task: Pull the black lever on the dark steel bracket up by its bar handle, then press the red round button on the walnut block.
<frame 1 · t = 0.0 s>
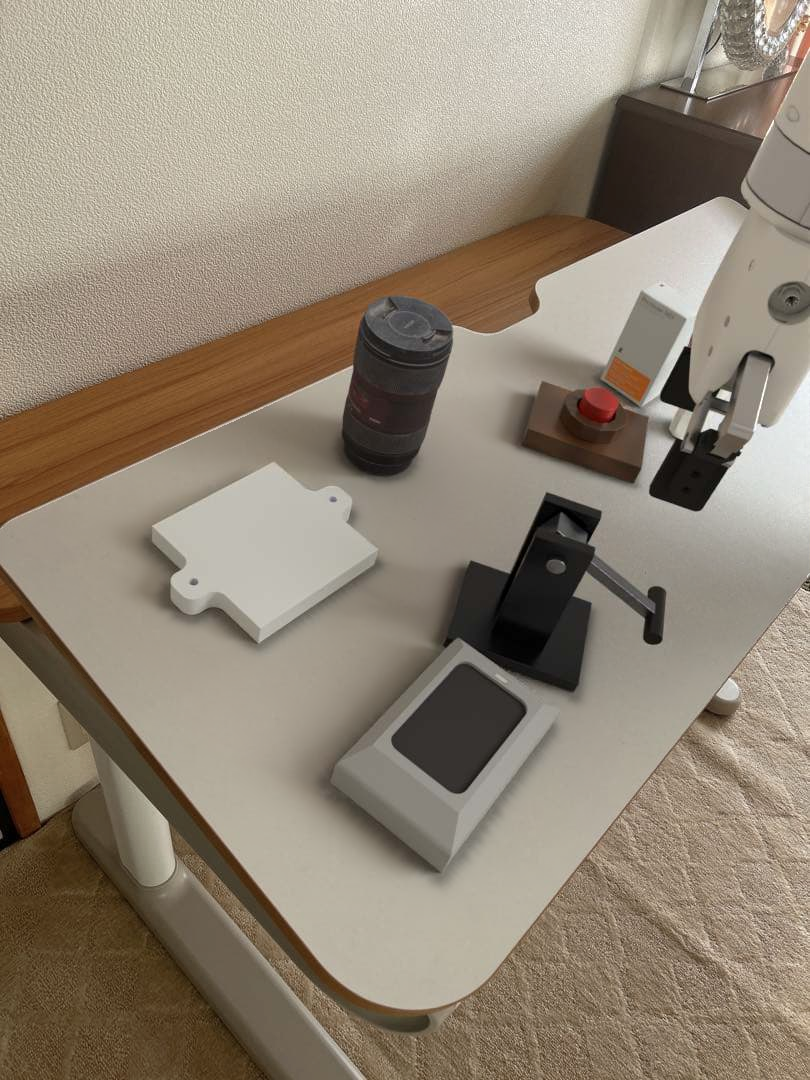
hand: (677, 450, 54), 24 cm above the table, tool pointing down, fingers open, 9 cm apart
video game controller: (721, 372, 108), on the table
cosmetic box: (628, 389, 101), on the table
button: (598, 405, 90), point 5 cm above the table, slide at 0.2 cm
lever: (605, 575, 67), point 9 cm above the table, hinge at -25.0°
mounting plate: (265, 555, 74), on the table
bracket: (517, 627, 74), on the table
milkshake: (681, 435, 97), on the table
card reader: (445, 754, 64), on the table
camera lens: (377, 454, 85), on the table
button block: (582, 438, 93), on the table
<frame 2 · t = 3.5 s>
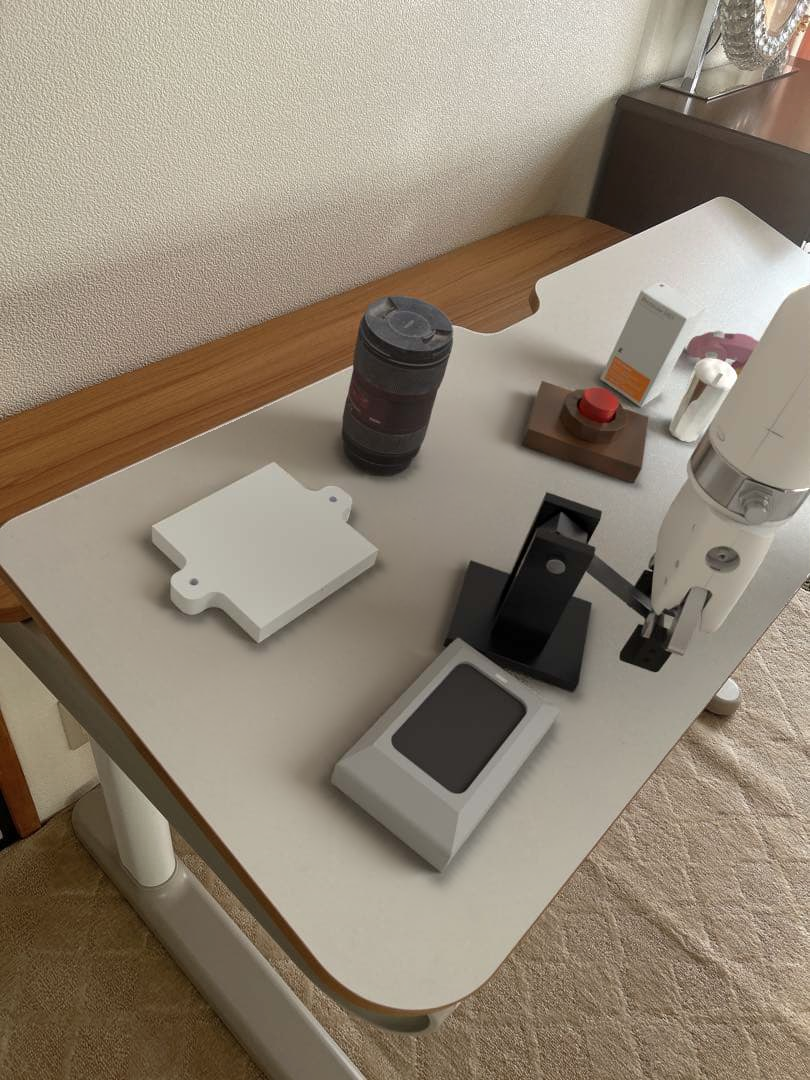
hand: (641, 634, 70), 4 cm above the table, tool pointing down, fingers closed on lever, 5 cm apart
lever: (605, 575, 67), point 9 cm above the table, hinge at -25.0°, touching gripper
everything else where it was.
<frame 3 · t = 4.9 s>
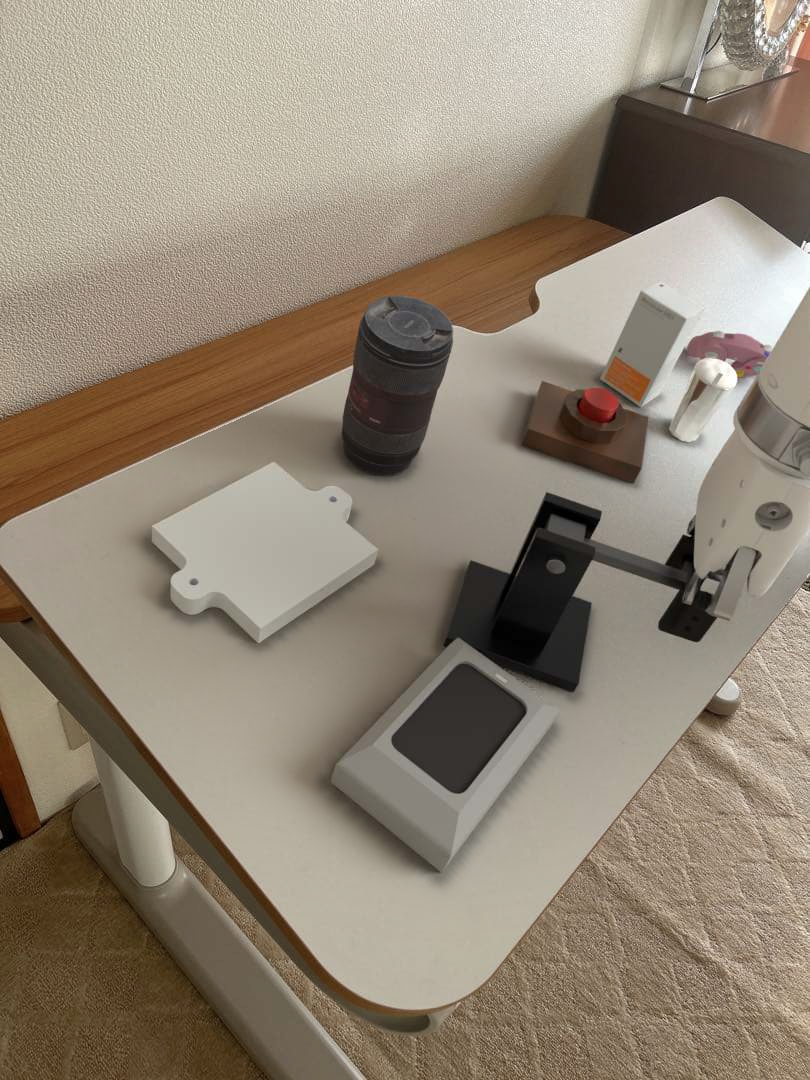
hand: (680, 603, 67), 9 cm above the table, tool pointing down, fingers closed on lever, 5 cm apart
lever: (621, 560, 66), point 11 cm above the table, hinge at 0.4°, touching gripper
everything else where it was.
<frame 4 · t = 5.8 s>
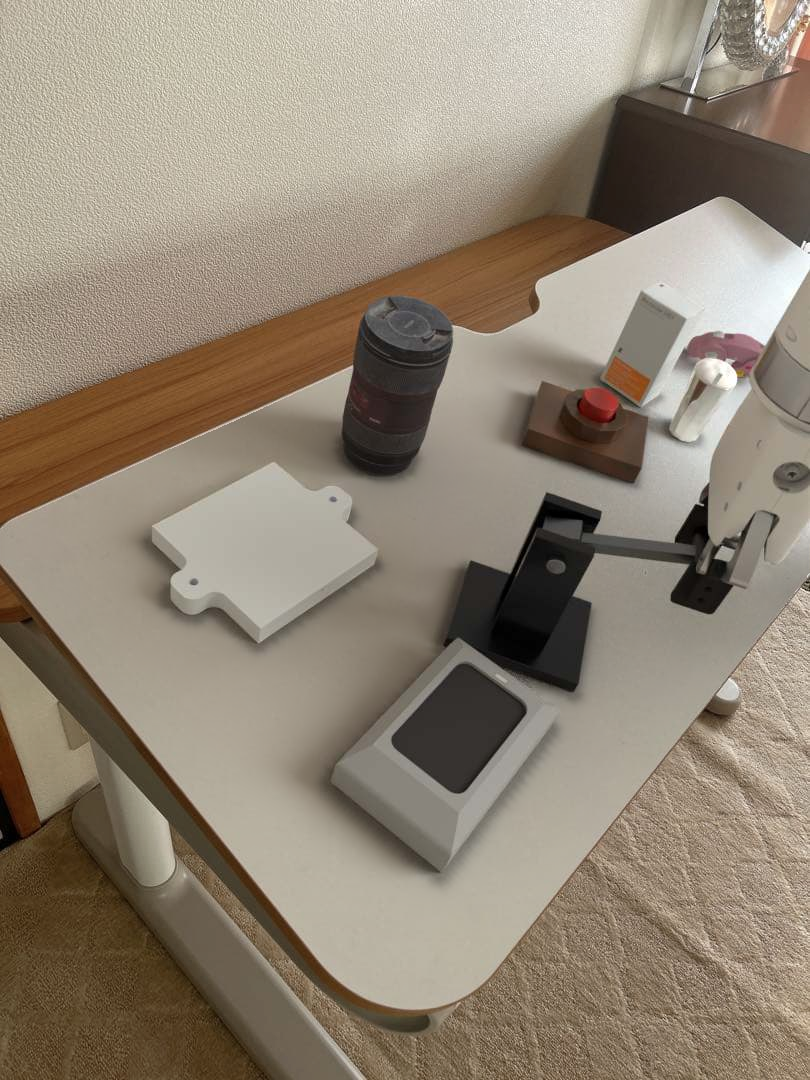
hand: (693, 575, 65), 12 cm above the table, tool pointing down, fingers closed on lever, 5 cm apart
lever: (625, 547, 65), point 12 cm above the table, hinge at 17.2°, touching gripper
everything else where it was.
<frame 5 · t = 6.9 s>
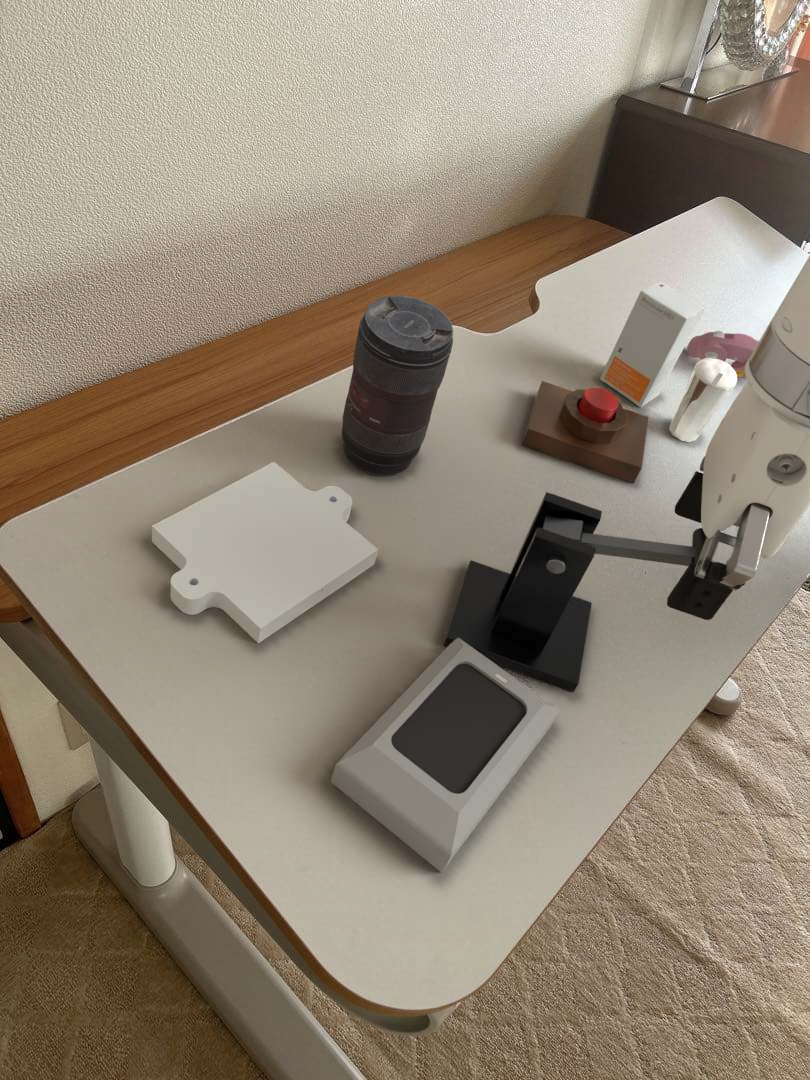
hand: (690, 561, 64), 13 cm above the table, tool pointing down, fingers open, 9 cm apart
lever: (625, 547, 65), point 12 cm above the table, hinge at 16.3°
everything else where it was.
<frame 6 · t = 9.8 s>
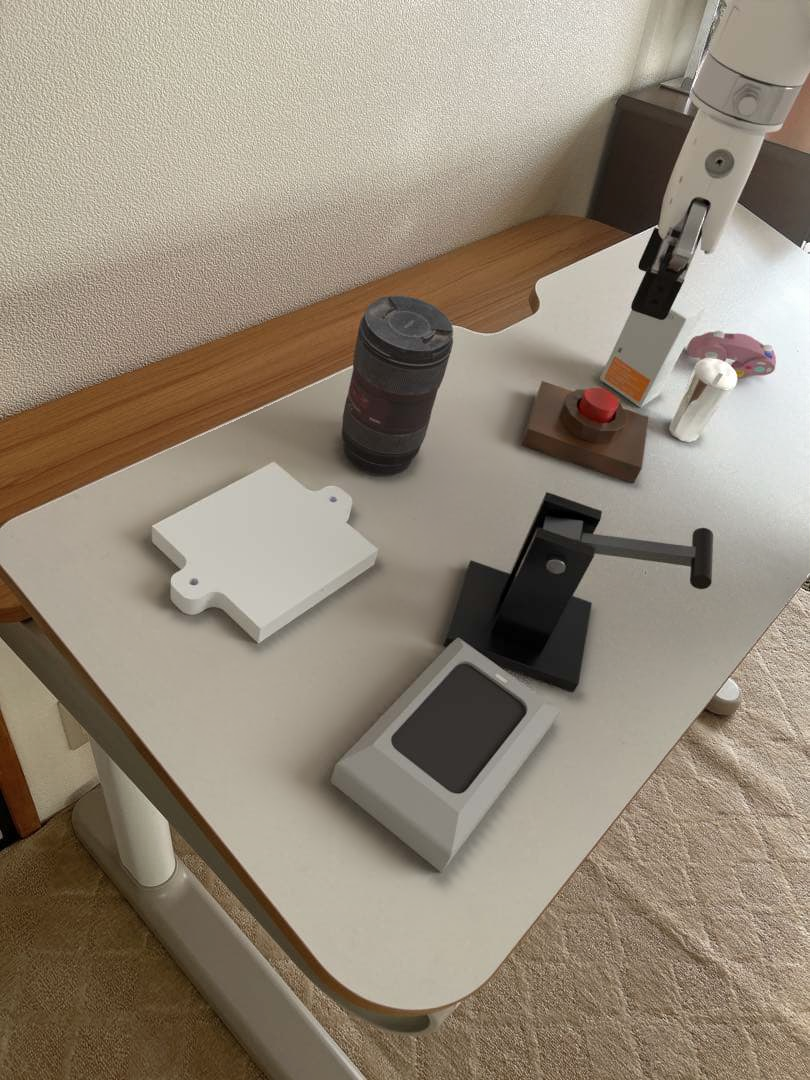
hand: (651, 291, 80), 18 cm above the table, tool pointing down, fingers open, 7 cm apart
nothing on the table moved.
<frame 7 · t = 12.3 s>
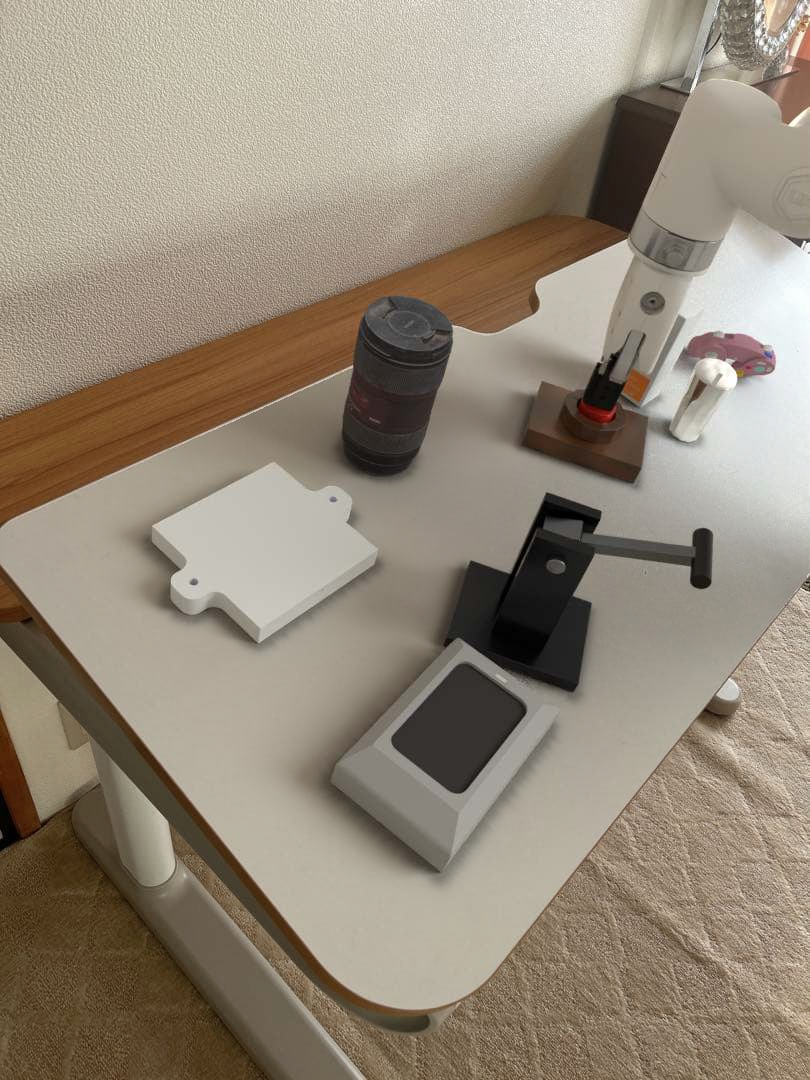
hand: (597, 402, 90), 5 cm above the table, tool pointing down, fingers closed
button: (595, 410, 90), point 4 cm above the table, slide at -0.6 cm, touching gripper
everything else where it was.
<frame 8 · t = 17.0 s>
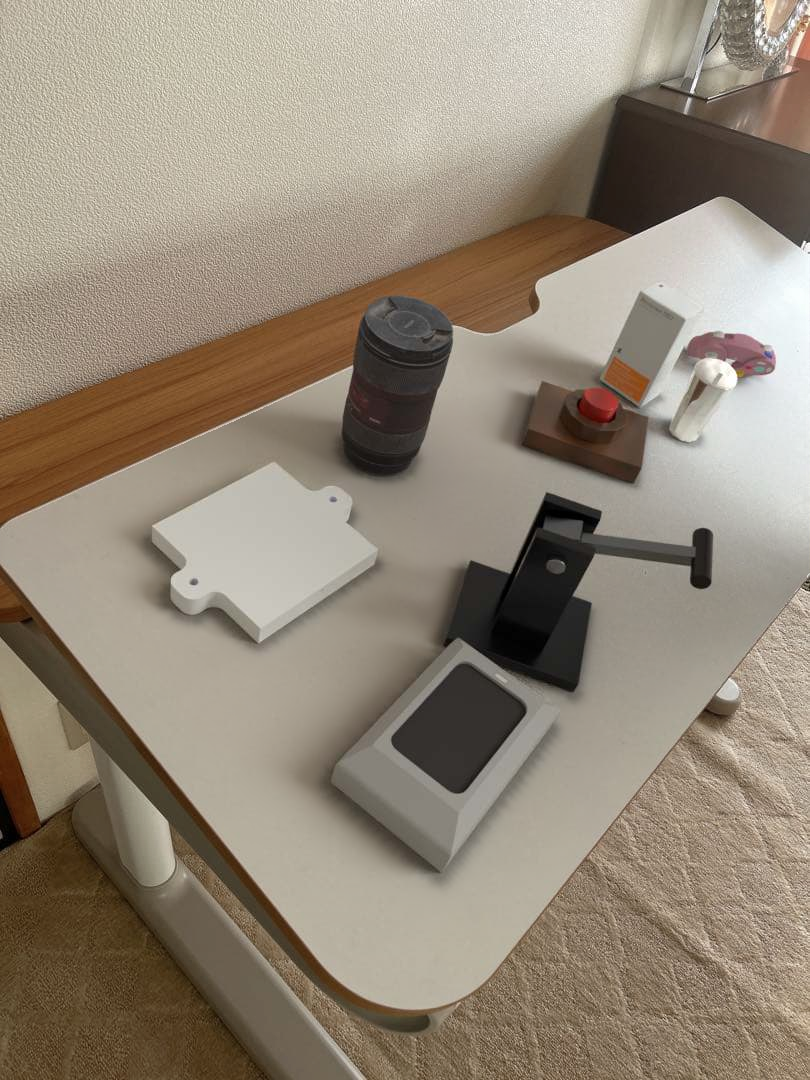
button: (598, 405, 90), point 5 cm above the table, slide at 0.1 cm
everything else where it was.
at the end: lever at +16° (first picture: -25°); button pushed in 1.1 cm at the most during the clip, back to where it started at the end; button slide at 0.1 cm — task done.
